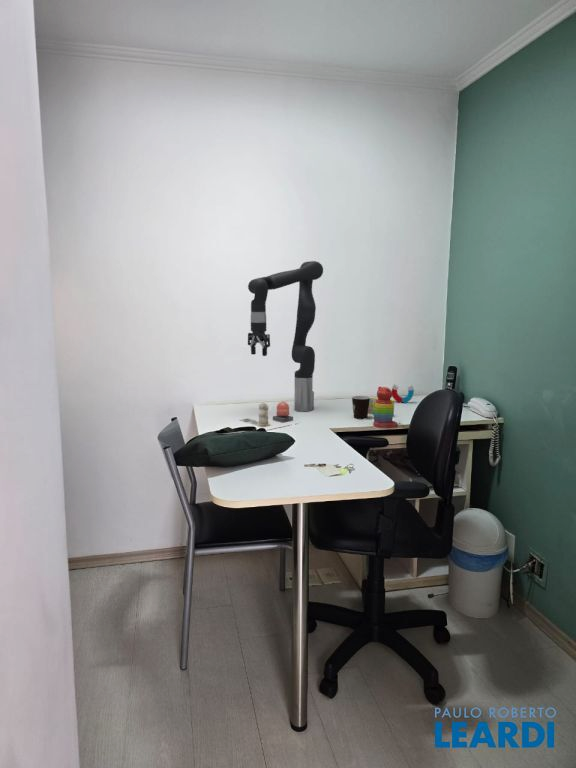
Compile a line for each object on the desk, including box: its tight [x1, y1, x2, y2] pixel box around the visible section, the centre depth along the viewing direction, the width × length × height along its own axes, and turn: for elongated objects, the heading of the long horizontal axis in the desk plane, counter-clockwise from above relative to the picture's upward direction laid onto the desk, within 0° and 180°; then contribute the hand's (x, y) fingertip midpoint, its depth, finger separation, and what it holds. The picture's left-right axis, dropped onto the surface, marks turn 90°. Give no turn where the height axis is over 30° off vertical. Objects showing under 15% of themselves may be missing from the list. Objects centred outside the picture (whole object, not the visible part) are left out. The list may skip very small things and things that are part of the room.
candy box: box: [368, 396, 395, 417], centre depth 277 cm, size 16×2×8 cm, turn 54°
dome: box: [276, 401, 290, 416], centre depth 260 cm, size 6×6×6 cm
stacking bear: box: [372, 386, 399, 429], centre depth 254 cm, size 11×10×18 cm
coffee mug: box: [351, 395, 370, 420], centre depth 271 cm, size 12×9×10 cm
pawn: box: [256, 402, 271, 427], centre depth 251 cm, size 6×6×10 cm
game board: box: [238, 414, 299, 432], centre depth 258 cm, size 26×22×3 cm
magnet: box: [391, 383, 415, 404], centre depth 306 cm, size 12×3×10 cm, turn 74°
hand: (258, 355), depth 269 cm, fingers open, 8 cm apart
